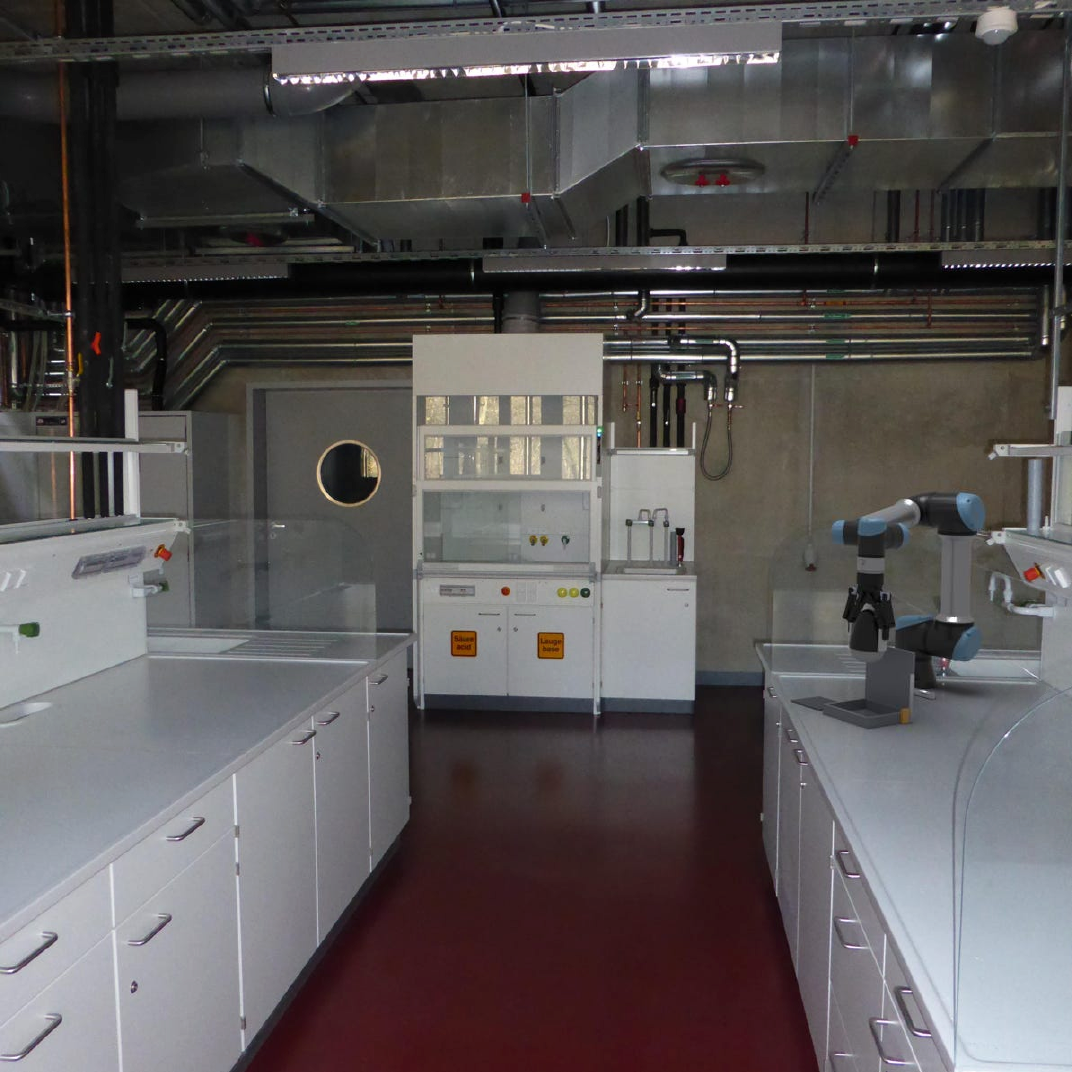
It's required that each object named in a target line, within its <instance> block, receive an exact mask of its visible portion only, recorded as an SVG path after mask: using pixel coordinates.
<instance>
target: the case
mask: <svg viewBox="0 0 1072 1072" xmlns="http://www.w3.org/2000/svg"><path fill="white" fill-rule="evenodd" d="M914 667H915V653H914V652H910V651H906V650H901V649H897V648H895V647H892V646H888V645H887V651H885V652H884V655H883V657H882V658H881V659H880V660H878V661H876V662H865V681H864V682H865V683H864V685H865V686H864V697H859V698H853V699H846V700H842V701H840V700H839V701H837V702H833V703H827V704H823V710H822V715H825V716H828V717H831V718H833V719H837V720H840V721H843V722H846V723H848V724H852V725H855V726H857V727H862V728H864V729H869V730H870V729H875V728H880V727H885V726H886V727H887V726H891V725H898V724H903V725H904V724H912V723H913V711H914V709H913V708H914V707H913V706H914V695H913V691H914ZM863 709H865V710H868V711H871V712H874V713H878V714H877V715H872V716H866V715H864V714H863V715H862V714H859V713H857V712H853V711H857V710H863Z"/></svg>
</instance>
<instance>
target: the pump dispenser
mask: <svg viewBox="0 0 1072 1072" xmlns="http://www.w3.org/2000/svg"><path fill="white" fill-rule="evenodd" d="M878 618H880V615H879V614H878V615H876V613H875V610H874V609H872V608H865V609H862V610H861V612H860V613H859V615H858V616H857V618H856V620H855V623H854V625H853V628H852V632H851V636H850V641H849V640H848V648H849V650H850V653H851V655H852V657H853V658H854V659H855V660H857V661H859V662H861V663H862V662H863V663H866V662H876V661H878V660H880V659H881V658H882V657H883V655H884V652H885V651H882V652H879V651H878V636H879V629H880V628H881V626H880V623H879V620H878Z"/></svg>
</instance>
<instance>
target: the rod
mask: <svg viewBox="0 0 1072 1072" xmlns="http://www.w3.org/2000/svg"><path fill="white" fill-rule="evenodd" d="M913 696H917V697H921V698H925V699H928V700H932V701H935V700H937V698H938V694H937V693H936V692H933V691H929V690H926V689H923V688H915V687H914V691H913Z"/></svg>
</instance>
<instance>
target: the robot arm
mask: <svg viewBox="0 0 1072 1072" xmlns="http://www.w3.org/2000/svg"><path fill="white" fill-rule="evenodd" d="M985 522H986V508H985V505H984V503H983V500H982V499H981V498H980V497H979V496H978V495H976V494H974V493H967V492H966V493H965V492H945V491H941V492H939V491H927V492H921V493H919V494H917V493H916V494H914V495H910V496H908V497H905V498H901V499H899V500H898V501H896V503H894V505H892V506H889V507H885V508H883V509H880V510H878V511H875V512H872V513H870V514H866V515H864V516H861V517H858V518H855V519H852V520H846V519H843V520H842V519H841V520H836V521H835V522H834V523H833V524H832V526H831V530H830V534H831V535H830V536H831V539H832V542H833V543H834V544H836V545H841V546H844V547H845V546H850V547H851V546H853V547H857V554H856V555H857V557H856V558H857V564H856V569H857V572H856V580H855V581H856V582H855V583H856V584H857V586H853V587H852V586H851V587H848V588H847V589H848V590H847V591H848V593H847V594H848V596H847V599H846V602H845V605H844V611H843V613H842V619H843V620H846V622H847V633H848V634H849V635H848V642H849V641H850V636H851V632H852V628H853V625H854V623H855V620H856V618H857V616H858V615H859V613H860V612H861V611H862V610H864V609H863V608H864V607H865V605H866V604H867V605H870V606H871V607H872V608H873V610H874V611H875V613H876V615H878V614H879V615H880V618H878V620H879V623H880V626H881V628H880V629H879V636H878V651H879V652H882V651H887V646H888V641H889V639H890V629H893V628H895V629H894V630H895V631H894V632H895V634H894V639H895V640H894V648H897V649H901V650H906V651H910V652H914V653H915V667H914V687H915V688H919V689H933V688H935V687H936V686H937V677H936V675H935V670H934V666H933V663H932V660H933V659H932V658H933V657H936V658H942V659H944V660H945V659H946V660H952V661H954V662H958V661H959V662H970V661H971V660H973V659H974V658H975V657H976V655H977V654H978V652H979V650H980V647H981V646H982V638H983V637H982V636H983V635H982V632H981V629H980V628H979V627H977V626H975V618H974V617H972V615H970V614H971V613H970V607H971V604H970V603H971V602H970V601H971V599H970V598H971V574H972V573H971V569H972V567H971V565H972V541H973V540H974V539H975V538H976V537H977V536H978V531H981V530H982V529H983V528H984V525H985ZM914 527H924V528H935V529H937V536H938V537H939V538H940V539H941V542H942V543H941V577H940V579H941V580H940V581H941V582H940V610H939V611H940V612H939V614H937V615H936V616H934V615H931V614H909V615H902V616H898V618H897V619H895V615H894V610H893V604H892V592H885V591H883V586H884V584H885V573H884V571H885V563H886V562H885V559H886V550H898V549H901V548H904V547H905V546H907V545H908V543H909V541H910V538H911V537H910V536H911V535H910V533H911V532H910V530H909V529H911V528H914ZM934 617H935V618H934Z"/></svg>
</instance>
